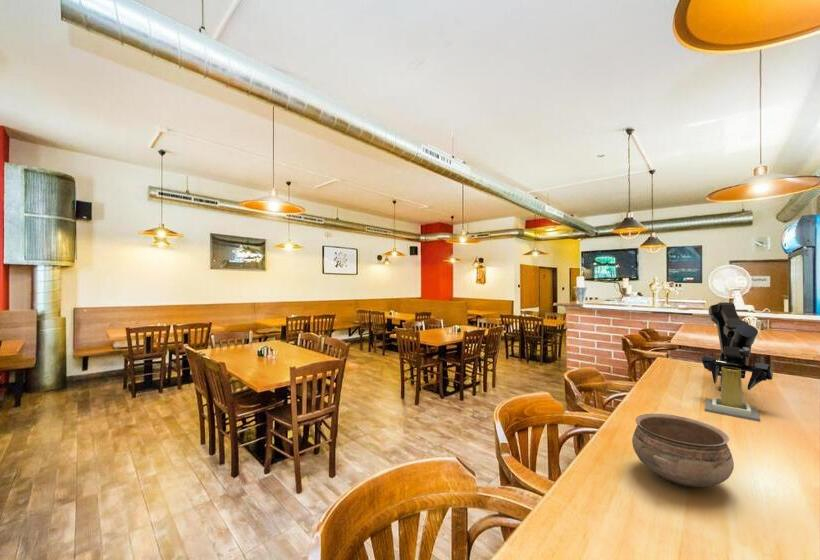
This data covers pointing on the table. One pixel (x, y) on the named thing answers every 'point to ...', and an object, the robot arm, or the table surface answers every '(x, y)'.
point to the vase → (731, 387)
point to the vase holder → (732, 409)
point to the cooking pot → (683, 450)
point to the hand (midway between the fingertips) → (731, 386)
